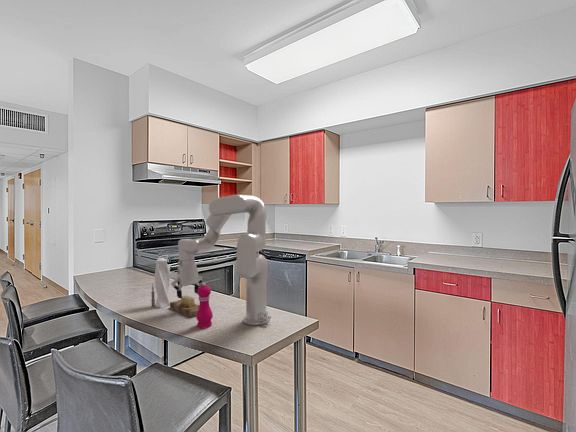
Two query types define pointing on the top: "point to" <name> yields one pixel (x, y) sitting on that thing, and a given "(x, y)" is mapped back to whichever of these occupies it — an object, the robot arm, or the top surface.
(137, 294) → the top surface
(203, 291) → the pepper mill
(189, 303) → the tan rectangular block
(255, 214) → the robot arm
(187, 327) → the top surface
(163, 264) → the skyscraper
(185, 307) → the rail
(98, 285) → the top surface
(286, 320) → the top surface
